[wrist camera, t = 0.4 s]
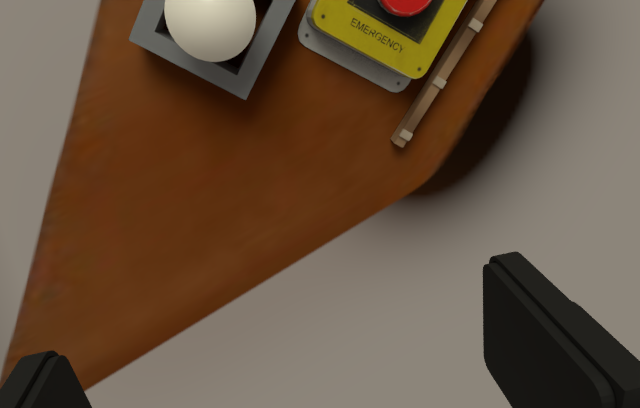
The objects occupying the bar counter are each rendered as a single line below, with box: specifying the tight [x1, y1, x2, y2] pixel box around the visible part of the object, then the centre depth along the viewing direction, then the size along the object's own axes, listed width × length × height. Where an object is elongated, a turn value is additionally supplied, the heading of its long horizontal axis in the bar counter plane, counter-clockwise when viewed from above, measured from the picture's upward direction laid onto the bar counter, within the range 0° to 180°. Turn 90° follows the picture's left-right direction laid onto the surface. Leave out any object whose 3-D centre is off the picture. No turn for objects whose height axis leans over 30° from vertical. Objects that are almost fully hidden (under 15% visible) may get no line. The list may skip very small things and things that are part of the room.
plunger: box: [164, 0, 256, 62], centre depth 28 cm, size 5×5×4 cm
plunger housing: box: [128, 0, 295, 100], centre depth 30 cm, size 8×8×3 cm
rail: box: [391, 0, 497, 148], centre depth 33 cm, size 20×1×1 cm, turn 150°
